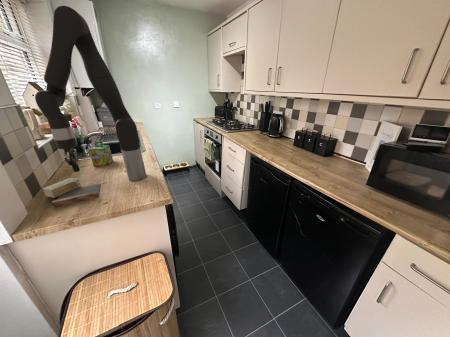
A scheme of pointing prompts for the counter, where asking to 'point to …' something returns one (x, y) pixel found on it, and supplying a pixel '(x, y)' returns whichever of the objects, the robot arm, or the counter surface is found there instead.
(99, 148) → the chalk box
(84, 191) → the mat
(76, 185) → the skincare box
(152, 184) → the counter surface
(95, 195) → the rail
